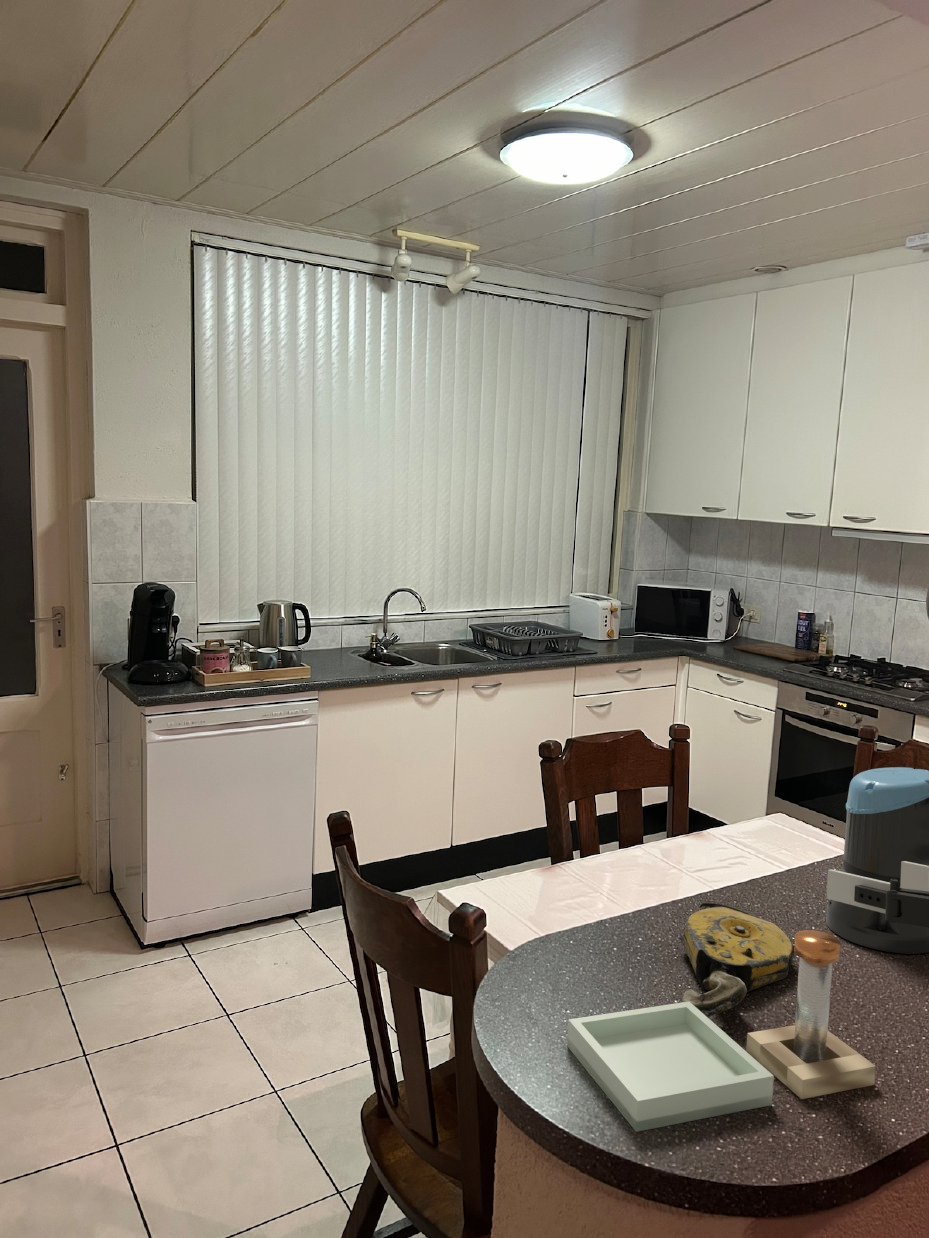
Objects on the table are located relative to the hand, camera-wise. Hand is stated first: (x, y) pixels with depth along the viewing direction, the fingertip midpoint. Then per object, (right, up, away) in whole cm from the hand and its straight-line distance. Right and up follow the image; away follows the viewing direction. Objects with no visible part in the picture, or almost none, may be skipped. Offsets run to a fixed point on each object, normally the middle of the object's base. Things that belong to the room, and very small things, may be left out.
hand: (867, 878), depth 93 cm
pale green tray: (-20, -21, +2) cm, 29 cm away
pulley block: (-7, -20, +24) cm, 32 cm away
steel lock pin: (-4, -21, +4) cm, 22 cm away
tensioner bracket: (-4, -21, +4) cm, 22 cm away
